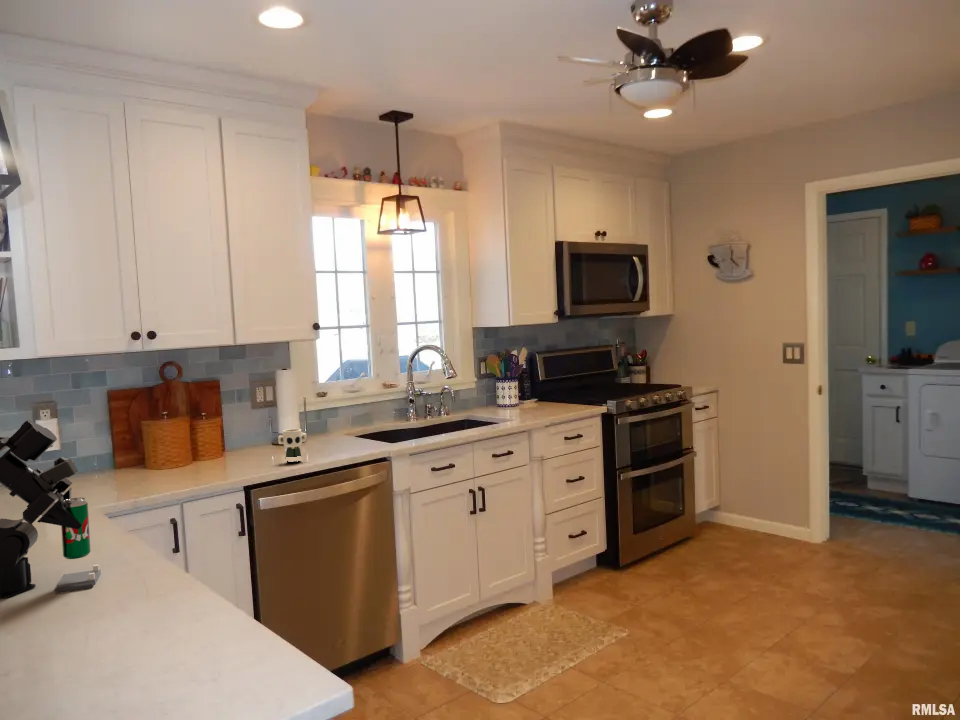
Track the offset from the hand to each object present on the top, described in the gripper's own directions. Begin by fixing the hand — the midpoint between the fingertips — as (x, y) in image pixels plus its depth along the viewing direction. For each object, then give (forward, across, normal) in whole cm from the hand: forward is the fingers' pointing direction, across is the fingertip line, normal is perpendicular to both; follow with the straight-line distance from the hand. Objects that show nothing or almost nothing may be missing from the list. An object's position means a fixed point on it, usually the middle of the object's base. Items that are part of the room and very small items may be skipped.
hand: (82, 524), depth 148 cm
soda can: (+4, 0, +6) cm, 7 cm away
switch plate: (+8, 0, +9) cm, 12 cm away
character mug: (+47, +116, -30) cm, 128 cm away
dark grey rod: (+8, -5, +10) cm, 13 cm away
